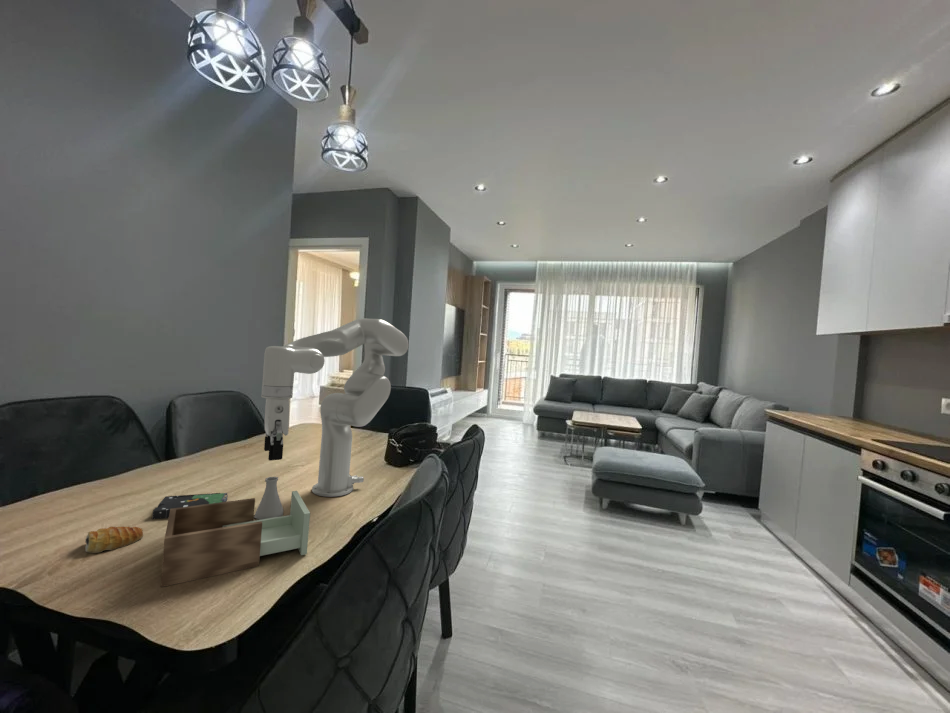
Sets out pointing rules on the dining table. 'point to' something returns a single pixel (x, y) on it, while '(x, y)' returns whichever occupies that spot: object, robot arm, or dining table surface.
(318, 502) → the dining table surface
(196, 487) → the dining table surface
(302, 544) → the tray
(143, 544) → the dining table surface
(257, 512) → the flask
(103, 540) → the pastry
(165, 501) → the disk drive
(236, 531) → the caddy
